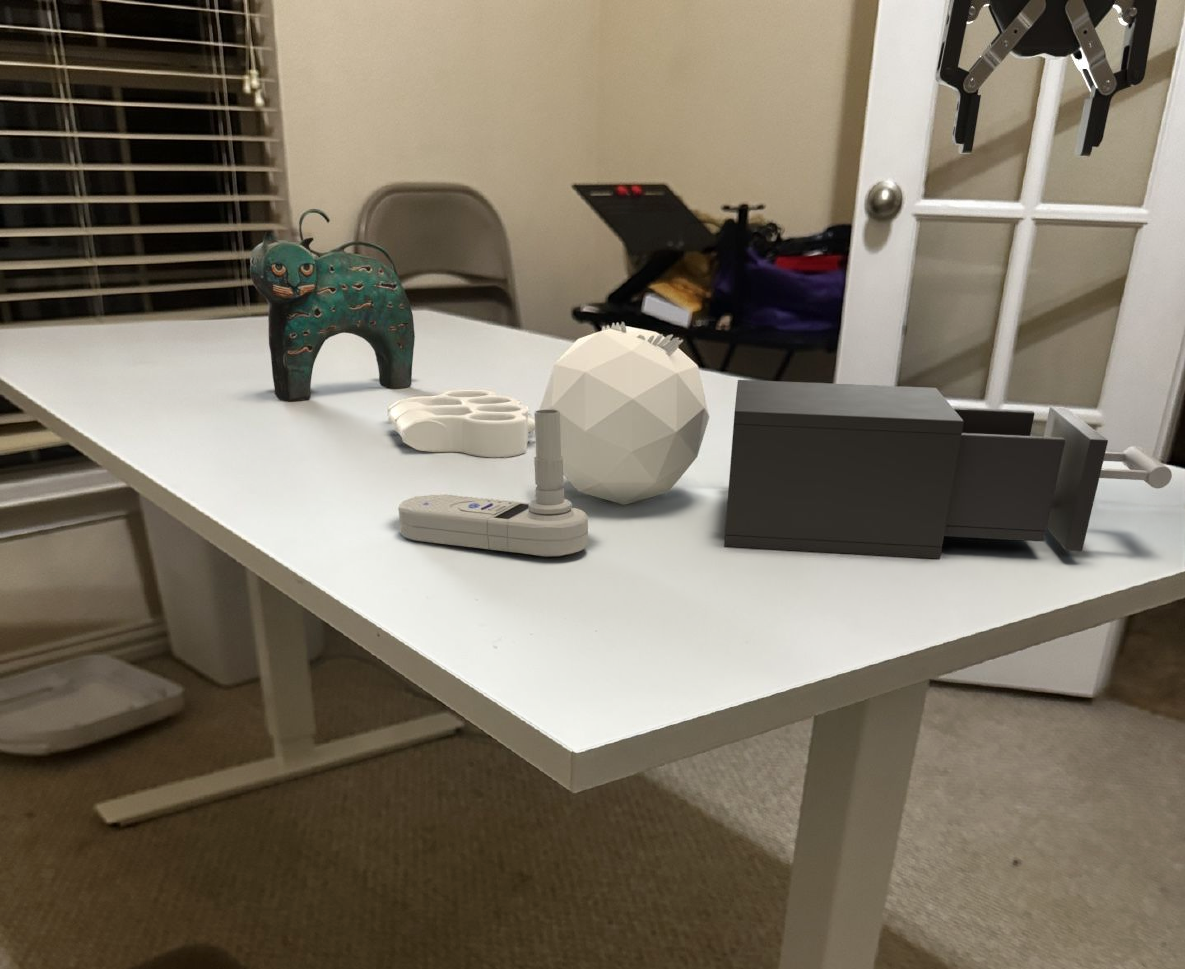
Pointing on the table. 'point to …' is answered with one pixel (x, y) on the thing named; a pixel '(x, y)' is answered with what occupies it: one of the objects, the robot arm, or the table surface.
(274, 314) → the ceramic cat
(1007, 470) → the open drawer
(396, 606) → the table surface
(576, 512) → the electronic device
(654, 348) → the geodesic sphere
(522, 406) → the white tray with wells
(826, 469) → the dark grey box
